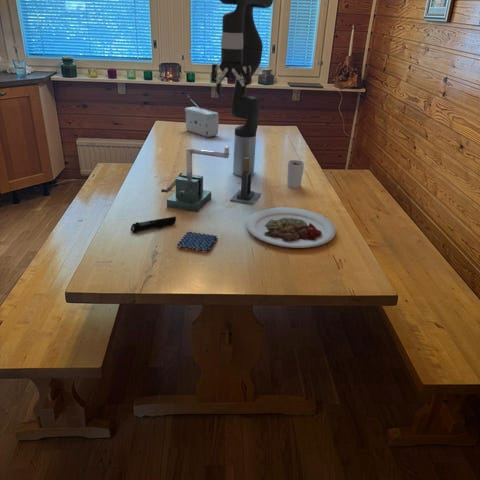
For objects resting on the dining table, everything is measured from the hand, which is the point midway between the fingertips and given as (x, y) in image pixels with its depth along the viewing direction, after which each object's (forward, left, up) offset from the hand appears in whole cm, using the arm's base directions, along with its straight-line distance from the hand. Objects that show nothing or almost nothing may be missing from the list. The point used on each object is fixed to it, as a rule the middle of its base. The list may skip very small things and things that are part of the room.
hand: (230, 95), depth 163 cm
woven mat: (+45, +5, -38) cm, 59 cm away
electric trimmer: (+39, -13, -38) cm, 56 cm away
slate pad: (+3, +8, -37) cm, 38 cm away
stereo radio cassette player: (-80, -43, -38) cm, 98 cm away
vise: (+16, -5, -37) cm, 41 cm away
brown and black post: (+3, +8, -37) cm, 38 cm away
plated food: (+24, +30, -38) cm, 54 cm away
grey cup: (-18, +23, -38) cm, 48 cm away
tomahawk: (-1, -22, -38) cm, 44 cm away
